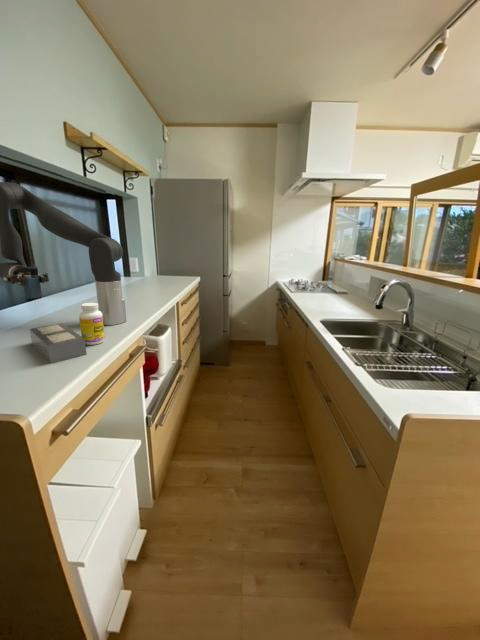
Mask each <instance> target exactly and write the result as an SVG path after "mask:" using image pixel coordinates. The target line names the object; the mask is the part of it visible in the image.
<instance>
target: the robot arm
mask: <svg viewBox="0 0 480 640" xmlns="http://www.w3.org/2000/svg"><path fill="white" fill-rule="evenodd" d="M15 209H16V210H17V209H22V210H25V211H26V212H29V213H31V214H32V215H34V216H36V218H37V221H38V222H39V224H40V225H41V226H42V228H44V229H45V230H47V231H48V232H50V233H51V234H54V235H55V236H57V237H59V238H61V239H63V240H66V241H69V242H73V243H75V244H78V245H82V246H84V247H87V248H88V258H89V264H90V269H91V272H92V275H93V277H94V280H95V281H94V282H95V290H96V299H97V304H98V311H100V312H101V313H102V315H103V326H116V325H121V324H122V323H125V322H127V312H126V309H127V308H126V299H125V298H123V289H122V288H123V287H122V276H121V273H120V272H118V271H117V270H116V269H115V264H114V263H115V262H118V261H120V260H121V259H122V258H123V256H124V250H123V246H122V245H121V244H120V242H119V241H117V240H116V239H114V238H112V237H109V236H107V235H105V234H103V233H101V232H98V231H96V230H94V229H92V228H91V227H89V226H88V225H86V224H85V223H83V222H82V221H80V220H77V218H75V217H73V216H71V215H70V214H68V213H66V212H65V211H63V210H61V209H60V208H57V207H56V206H53V204H50V203H49V202H47V201H44V200H43V199H41V198H39V196H37V195H35V194H34V193H32V192H31V191H30V190H29V189H28V188H25V187H24V186H22V185H20V184H19V183H17V182H9V181H7V182H6V181H5V182H4V181H0V254H1V257H2V258H4V259H6V260H10V261H14V262H0V278H1V279H3V281H4V283H7V284H13V285H14V284H17V285H19V286H22V287H24V284H25V278H24V276H25V275H31V274H30V268H29V267H30V266H27V264H26V261H25V258H24V255H23V254H24V253H23V241H22V237H21V235H20V233H19V232H18V231H17V229H16V228H15V227H14V225H13V224H12V222H11V220H10V210H15ZM38 274H39V278H40V284H45V282H47V283H48V282H49V274H48V273H47V272H44V273H42V274H40V273H39V272H38Z"/></svg>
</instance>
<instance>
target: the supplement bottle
mask: <svg viewBox="0 0 480 640" xmlns="http://www.w3.org/2000/svg"><path fill="white" fill-rule="evenodd" d="M81 310H82V311H81V312H79V315H78V318H79V319H78V320H79V325H80V333H81V335H80V336H82V337H83V338H85V346H86V345H87V346H96V345H99V344H102V343H104V342H105V340H106V339H105V337H106V336H105V329H104V328H105V325H103V315H102V313H101V312H100V311H99V310H98V302H87V303H82V304H81Z"/></svg>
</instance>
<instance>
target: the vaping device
mask: <svg viewBox="0 0 480 640" xmlns="http://www.w3.org/2000/svg"><path fill="white" fill-rule="evenodd" d="M28 267H29V268H30V274H31V275H25V276H24V278H25V284H24V286H23V289H24V293H25V297H26V298H27V299H28V300H29V299H31V300H33V299H37V298H38V299H39V298H41V297H43V293H42V287H41V286H42V285H41V282H40V278H39V275H40V273H39V270H38V266H36V264H35V263H31V265H30V266H28ZM38 273H39V274H38Z"/></svg>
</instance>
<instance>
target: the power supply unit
mask: <svg viewBox="0 0 480 640" xmlns="http://www.w3.org/2000/svg"><path fill="white" fill-rule="evenodd" d="M28 330H29V334H30V338H31V339H30V341H31V345H33V347H34V348H35V349H36V350H37V351H38V352H39V353H40V354H41V355H42V356H43V357H44V358H45V359H46V360H47V361H48V362H49V363H50V364H55V363H58V362H62V361H66V360H70V359H74V358H78V357H82V356H85V355H87V353H88V352H87V346H86V344H85V338H83V337H82V336H81V335H80V334H79V333H77V332H76V331H75V330H73V329H71V328H69V327H68V326H66V325H65V324H64V323H57V324H50V325H43V326H39V327H38V326H37V327H33V328H29V329H28Z"/></svg>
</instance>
